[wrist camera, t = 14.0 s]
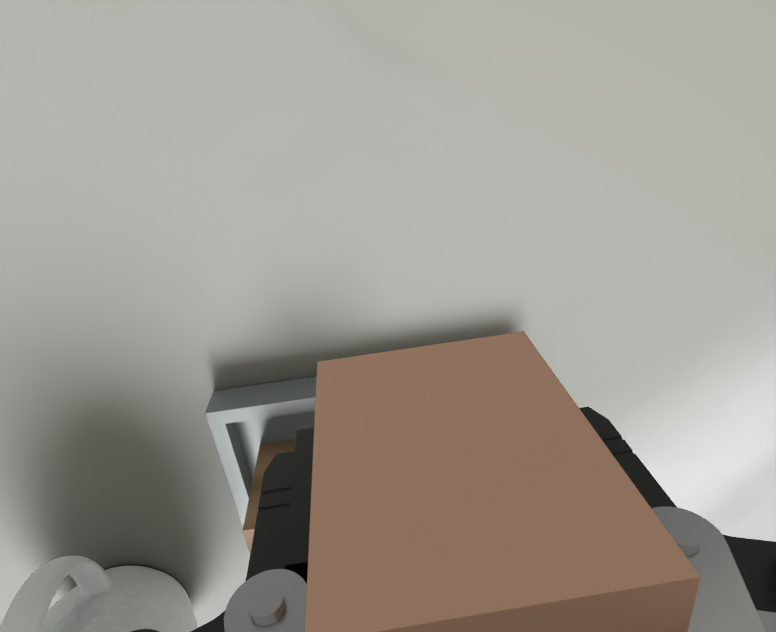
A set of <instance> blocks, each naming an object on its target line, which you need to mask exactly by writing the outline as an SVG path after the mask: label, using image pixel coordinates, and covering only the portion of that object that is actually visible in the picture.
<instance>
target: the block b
mask: <svg viewBox="0 0 776 632" xmlns="http://www.w3.org/2000/svg"><path fill="white" fill-rule="evenodd" d="M699 582H700V575H699V574H698V573H697V571H696V570H695V568H694V567H693V566H692V564H691V563H690V561H689V560H688V559H687V557H686V556H685V555H684V553H683V552H682V550H681V549H680V548H679V546H678V545H677V543H676V542H675V541H674V539H673V538H672V537H671V535H670V534H669V532H668V531H667V530H666V528H665V527H664V525H663V524H662V523H661V521H660V520H659V518H658V517H657V516H656V514H655V513H654V512H653V510H652V509H651V507H650V506H649V505H648V503H647V502H646V500H645V499H644V498H643V496H642V495H641V494H640V492H639V491H638V489H637V488H636V487H635V485H634V484H633V482H632V481H631V480H630V478H629V477H628V475H627V474H626V473H625V471H624V470H623V469H622V467H621V466H620V464H619V463H618V462H617V460H616V459H615V457H614V456H613V455H612V453H611V452H610V450H609V449H608V448H607V446H606V445H605V444H604V442H603V441H602V439H601V438H600V437H599V435H598V434H597V432H596V431H595V430H594V428H593V427H592V426H591V424H590V423H589V421H588V420H587V419H586V417H585V416H584V414H583V413H582V412H581V410H580V409H579V407H578V406H577V405H576V403H575V402H574V401H573V399H572V398H571V396H570V395H569V394H568V392H567V391H566V389H565V388H564V387H563V385H562V384H561V383H560V381H559V380H558V378H557V377H556V376H555V374H554V373H553V371H552V370H551V369H550V367H549V366H548V364H547V363H546V362H545V360H544V359H543V358H542V356H541V355H540V353H539V352H538V351H537V349H536V348H535V346H534V345H533V344H532V342H531V341H530V339H529V338H528V337H527V335H526V334H525V333H524V331H522V332H516V333H509V334H502V335H495V336H488V337H482V338H475V339H468V340H461V341H454V342H448V343H441V344H434V345H427V346H420V347H414V348H407V349H400V350H393V351H386V352H380V353H373V354H366V355H359V356H352V357H346V358H339V359H332V360H325V361H318V362H317V379H316V401H315V423H314V444H313V466H312V488H311V510H310V532H309V554H308V576H307V597H306V619H305V632H688V628H689V623H690V619H691V615H692V611H693V607H694V603H695V598H696V594H697V590H698V586H699Z"/></svg>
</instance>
